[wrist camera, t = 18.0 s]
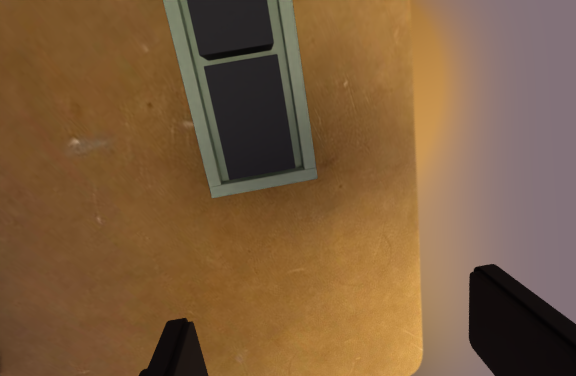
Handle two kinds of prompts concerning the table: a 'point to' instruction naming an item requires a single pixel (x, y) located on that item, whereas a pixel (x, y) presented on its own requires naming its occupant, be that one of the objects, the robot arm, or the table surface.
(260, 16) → the black rectangular block
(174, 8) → the pad frame
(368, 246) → the table surface
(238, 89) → the loose pad
